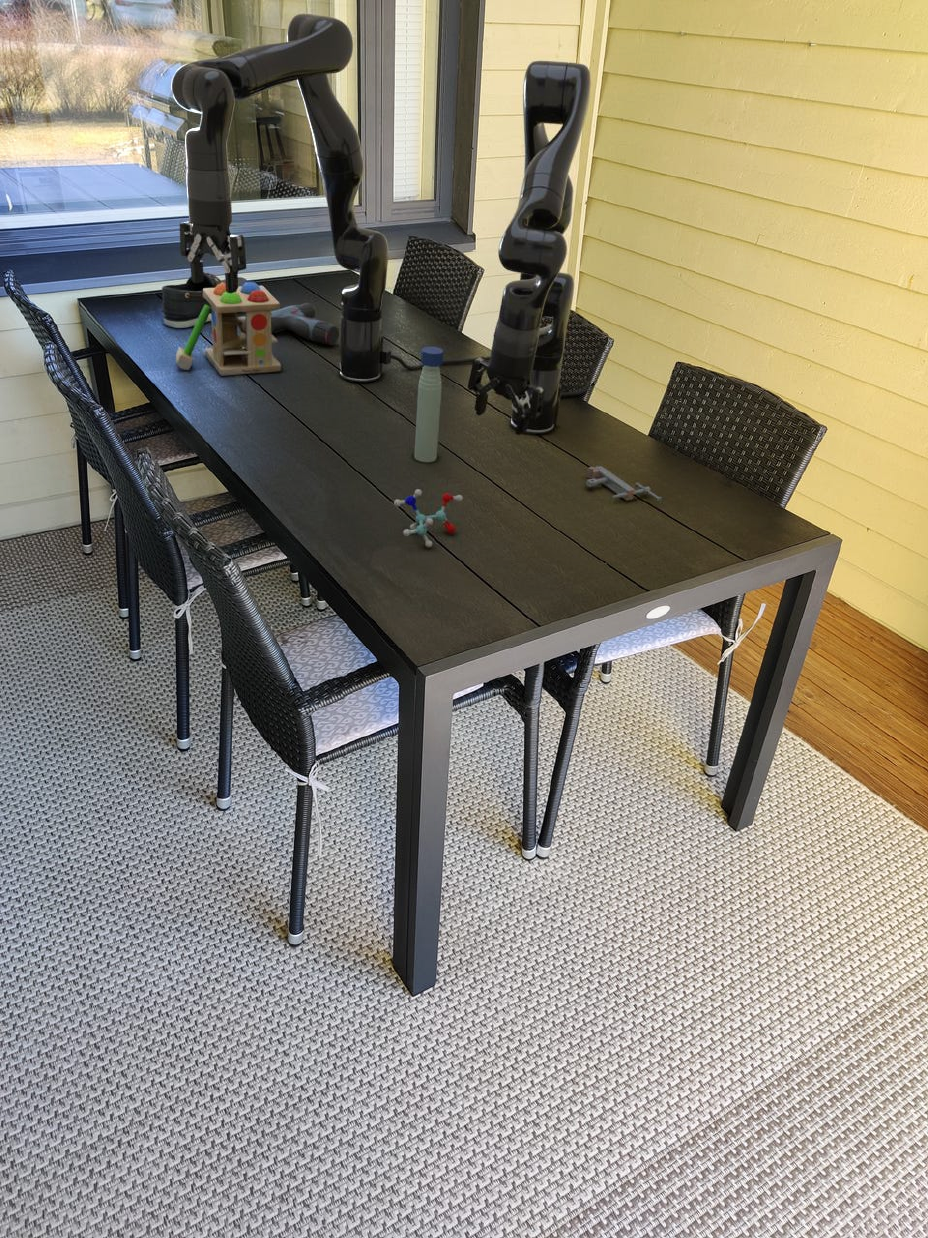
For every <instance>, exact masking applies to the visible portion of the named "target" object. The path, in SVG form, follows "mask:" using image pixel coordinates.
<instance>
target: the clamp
mask: <svg viewBox="0 0 928 1238" xmlns="http://www.w3.org/2000/svg"><path fill="white" fill-rule="evenodd" d="M587 478H588V479H586V482H585V485H586V486H587V487H589V488H593V487H598V486H599V485H601V484H603V485H604V486H606V487H607V488H608V489H609V490H611V491H613V492H614V493H615V494H614V495H612V496H611V497H612V499H621V498H622V499H623V500H625V501H632V500H633V499H634V496H636V495H639V494H642V495H646V494H649V495H650V496H651V497H653V498H654V499H656V500H657V502H659V503H660V502H661V501H662V500H663V498H662V496H658V495H657V494H655V493H654V492H652V491H651V488H650V486H644V485H642V484H641V483H640V482H639V481H638V482H637V481H636V483H635V484H634V485H635V488H639V489H635V488H633V487H632V486H631V485H629V484H628V483H626V482H625V481H623V480H622V479H620V478H619V477H618V476H617V475H615V474H614V473H613V472H611V471H609V470H608V469H606V468H605V467H603V466H602V465H599V466H595V467H594V466H590V467H588V470H587Z"/></svg>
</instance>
